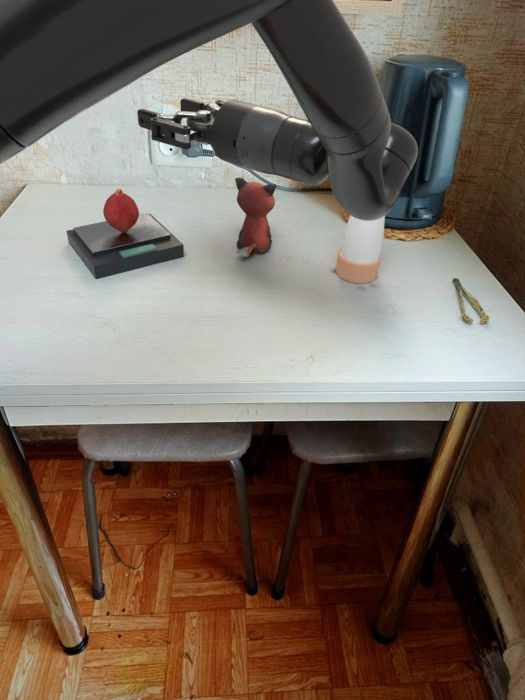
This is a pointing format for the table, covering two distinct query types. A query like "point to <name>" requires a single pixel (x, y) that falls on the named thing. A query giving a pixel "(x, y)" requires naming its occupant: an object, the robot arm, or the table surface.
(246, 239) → the stuffed fox
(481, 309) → the tongs
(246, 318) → the table surface
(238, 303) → the table surface
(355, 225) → the pepper shaker
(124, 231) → the onion
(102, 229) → the scale
